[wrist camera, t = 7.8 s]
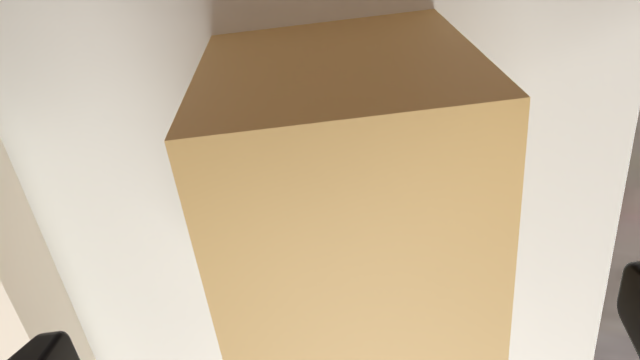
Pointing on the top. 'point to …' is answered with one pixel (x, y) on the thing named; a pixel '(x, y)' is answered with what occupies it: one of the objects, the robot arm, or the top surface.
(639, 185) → the top surface
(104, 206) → the shelf
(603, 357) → the top surface
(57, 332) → the robot arm
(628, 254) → the top surface
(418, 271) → the tea box
